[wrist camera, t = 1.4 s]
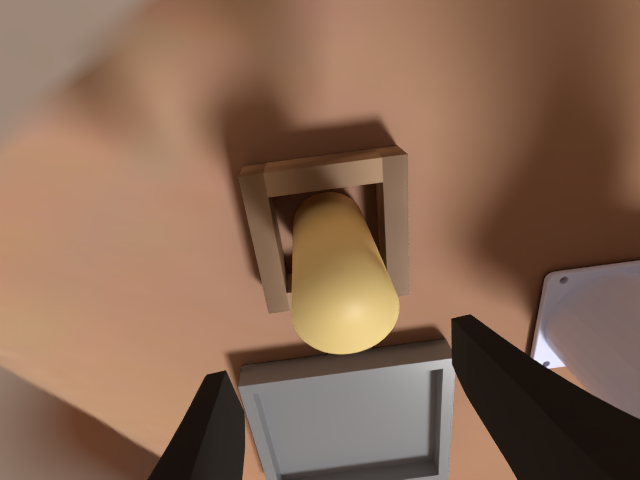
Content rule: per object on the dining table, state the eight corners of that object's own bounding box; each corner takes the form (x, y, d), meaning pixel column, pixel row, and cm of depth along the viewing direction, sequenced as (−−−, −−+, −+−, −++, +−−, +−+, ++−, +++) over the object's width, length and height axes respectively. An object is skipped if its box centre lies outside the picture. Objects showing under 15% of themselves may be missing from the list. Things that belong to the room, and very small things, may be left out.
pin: (361, 186, 20) (398, 258, 13) (365, 251, 21) (400, 347, 14) (287, 196, 20) (283, 274, 13) (298, 260, 22) (299, 360, 14)
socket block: (396, 145, 19) (407, 153, 17) (400, 276, 22) (409, 294, 21) (243, 165, 19) (237, 176, 17) (270, 293, 22) (268, 313, 21)
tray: (445, 338, 25) (456, 357, 23) (440, 457, 31) (448, 479, 29) (241, 365, 25) (237, 386, 23) (274, 479, 31) (273, 503, 29)
